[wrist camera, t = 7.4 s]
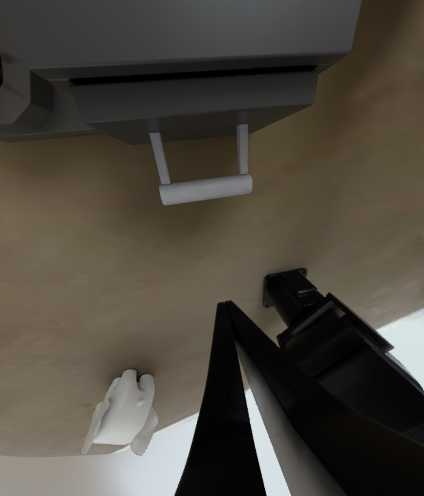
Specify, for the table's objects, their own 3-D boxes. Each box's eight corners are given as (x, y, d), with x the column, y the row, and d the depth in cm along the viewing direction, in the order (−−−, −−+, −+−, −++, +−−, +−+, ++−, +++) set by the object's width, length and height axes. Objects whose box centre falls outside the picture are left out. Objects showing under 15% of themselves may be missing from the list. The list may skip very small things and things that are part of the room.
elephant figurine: (85, 390, 29) (50, 474, 21) (127, 357, 26) (105, 436, 19) (131, 400, 33) (116, 472, 25) (171, 371, 31) (167, 441, 23)
